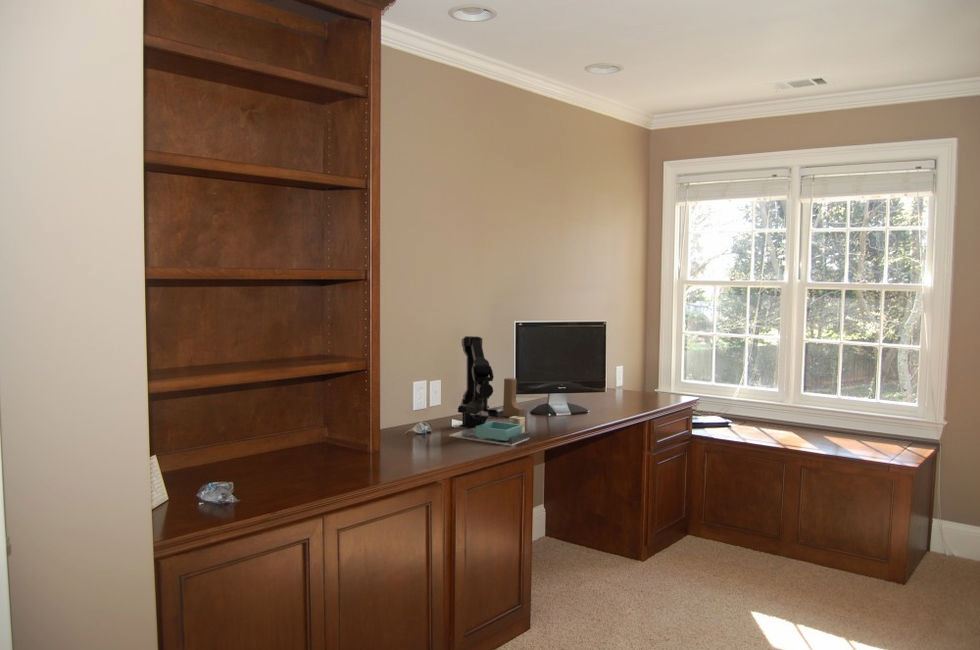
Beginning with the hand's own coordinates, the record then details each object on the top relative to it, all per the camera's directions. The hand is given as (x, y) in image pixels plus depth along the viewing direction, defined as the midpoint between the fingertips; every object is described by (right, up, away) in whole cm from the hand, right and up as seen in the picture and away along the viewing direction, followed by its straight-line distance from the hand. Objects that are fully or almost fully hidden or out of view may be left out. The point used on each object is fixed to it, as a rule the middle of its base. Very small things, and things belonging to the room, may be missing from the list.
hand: (479, 431), depth 314 cm
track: (+4, -2, -2) cm, 5 cm away
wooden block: (+15, 0, +46) cm, 49 cm away
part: (+15, -2, +8) cm, 17 cm away
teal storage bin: (+8, -3, -4) cm, 9 cm away
